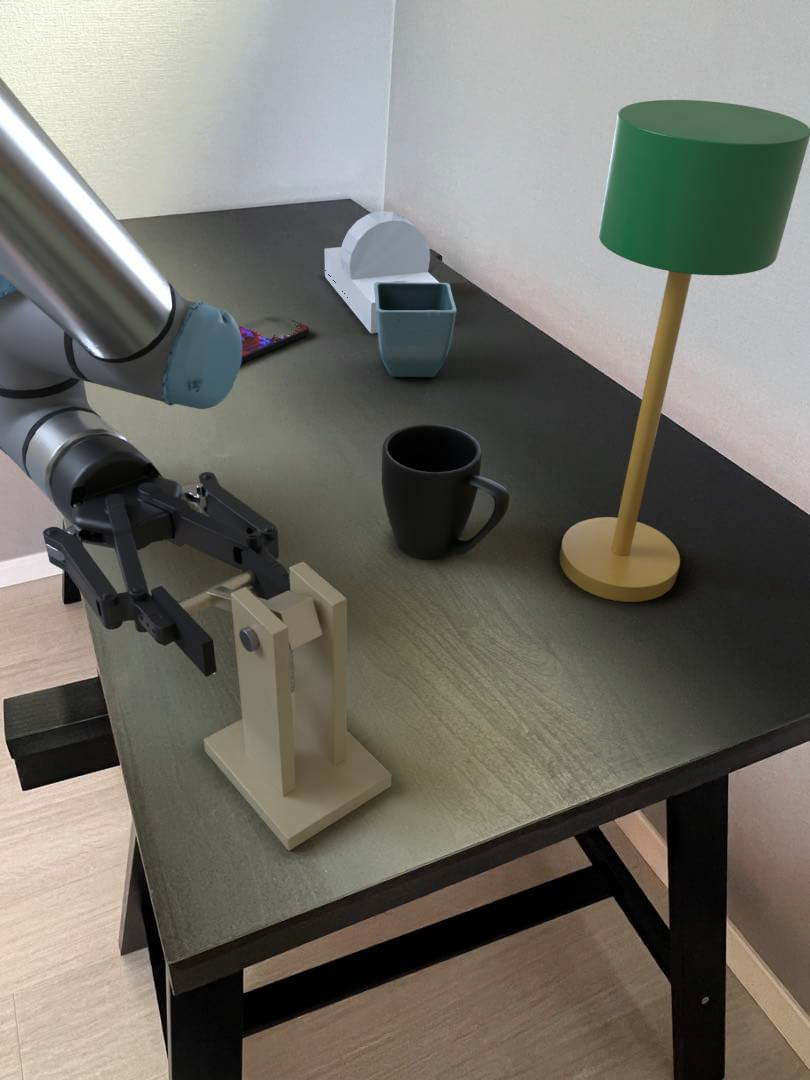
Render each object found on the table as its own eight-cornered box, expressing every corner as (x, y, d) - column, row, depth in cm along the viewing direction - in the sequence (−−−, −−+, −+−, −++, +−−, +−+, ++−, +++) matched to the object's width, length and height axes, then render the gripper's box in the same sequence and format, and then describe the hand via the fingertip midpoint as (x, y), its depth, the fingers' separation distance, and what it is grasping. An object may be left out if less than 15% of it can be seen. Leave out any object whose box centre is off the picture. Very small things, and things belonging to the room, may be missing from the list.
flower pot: (372, 352, 114) (373, 280, 109) (444, 353, 115) (449, 281, 110) (374, 385, 107) (376, 310, 102) (451, 386, 108) (457, 311, 102)
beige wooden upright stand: (204, 751, 63) (182, 578, 55) (303, 698, 68) (296, 530, 59) (288, 851, 57) (278, 675, 49) (391, 786, 62) (398, 613, 53)
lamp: (526, 580, 80) (592, 124, 58) (575, 511, 88) (648, 92, 67) (666, 628, 75) (792, 154, 54) (703, 550, 84) (825, 116, 63)
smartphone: (175, 346, 111) (269, 310, 121) (176, 353, 112) (269, 316, 121) (218, 367, 107) (312, 327, 117) (219, 374, 108) (312, 334, 117)
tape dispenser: (450, 323, 122) (456, 237, 115) (369, 333, 119) (370, 245, 112) (397, 269, 137) (399, 190, 130) (323, 276, 133) (322, 195, 127)
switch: (175, 627, 62) (164, 594, 61) (253, 592, 65) (244, 560, 64) (263, 665, 52) (251, 626, 52) (349, 621, 56) (339, 584, 55)
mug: (460, 603, 77) (469, 507, 71) (360, 538, 83) (361, 445, 78) (524, 562, 81) (538, 468, 76) (425, 503, 88) (431, 413, 83)
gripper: (207, 478, 81) (374, 620, 67) (-17, 560, 71) (125, 747, 57) (199, 400, 76) (376, 534, 62) (-41, 475, 66) (106, 655, 52)
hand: (256, 635), depth 60 cm, fingers closed on switch, 6 cm apart
